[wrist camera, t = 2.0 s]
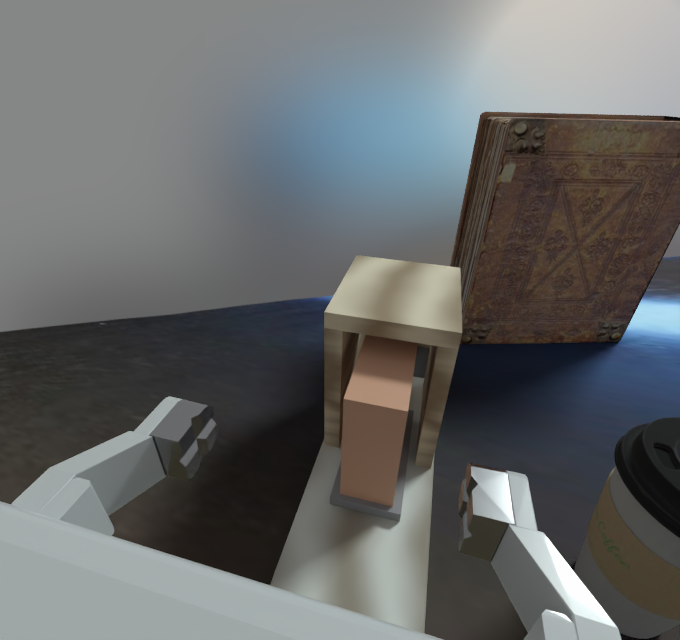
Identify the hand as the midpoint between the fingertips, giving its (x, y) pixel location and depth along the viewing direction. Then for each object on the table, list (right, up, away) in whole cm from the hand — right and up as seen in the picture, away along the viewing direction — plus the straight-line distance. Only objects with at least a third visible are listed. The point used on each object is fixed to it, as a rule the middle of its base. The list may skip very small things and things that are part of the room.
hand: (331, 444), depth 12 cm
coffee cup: (+22, -17, +18) cm, 33 cm away
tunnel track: (+4, -11, +27) cm, 30 cm away
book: (+30, +3, +50) cm, 58 cm away
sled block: (+4, -9, +25) cm, 27 cm away
